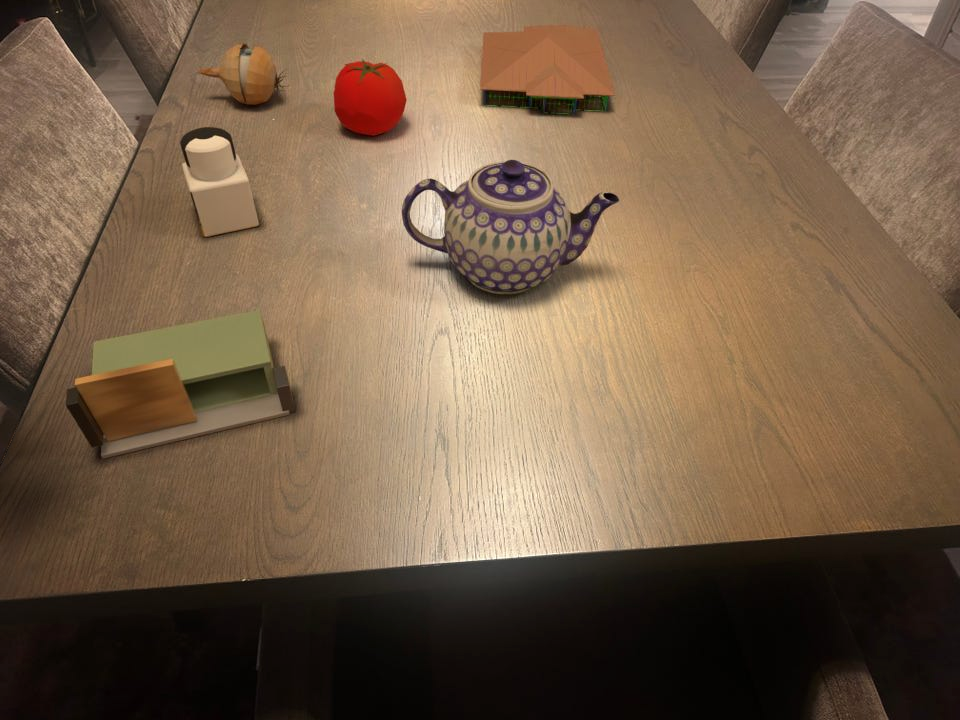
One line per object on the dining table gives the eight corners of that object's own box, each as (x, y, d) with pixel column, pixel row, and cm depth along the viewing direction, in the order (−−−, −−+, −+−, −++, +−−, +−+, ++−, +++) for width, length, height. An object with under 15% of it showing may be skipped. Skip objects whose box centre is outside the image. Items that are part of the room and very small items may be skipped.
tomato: (322, 122, 110) (313, 58, 103) (381, 105, 116) (377, 43, 108) (360, 152, 104) (354, 86, 97) (421, 132, 109) (420, 69, 102)
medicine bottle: (195, 210, 91) (169, 126, 83) (248, 199, 94) (229, 117, 85) (204, 238, 87) (177, 153, 78) (259, 226, 89) (240, 142, 81)
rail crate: (102, 458, 63) (81, 424, 59) (105, 378, 70) (86, 342, 66) (296, 413, 67) (287, 378, 64) (280, 341, 74) (271, 307, 71)
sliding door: (95, 454, 62) (60, 397, 56) (96, 438, 63) (62, 380, 58) (197, 430, 65) (174, 373, 59) (196, 415, 66) (173, 358, 60)
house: (479, 114, 114) (481, 66, 109) (483, 41, 138) (484, -2, 132) (613, 121, 115) (622, 73, 109) (594, 46, 138) (601, 3, 132)
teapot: (395, 301, 80) (387, 190, 69) (413, 227, 91) (409, 121, 80) (607, 317, 79) (632, 208, 68) (600, 241, 90) (621, 136, 79)
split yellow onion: (288, 64, 106) (189, 35, 103) (281, 122, 112) (187, 96, 109) (299, 51, 114) (208, 24, 111) (292, 105, 119) (205, 81, 116)
